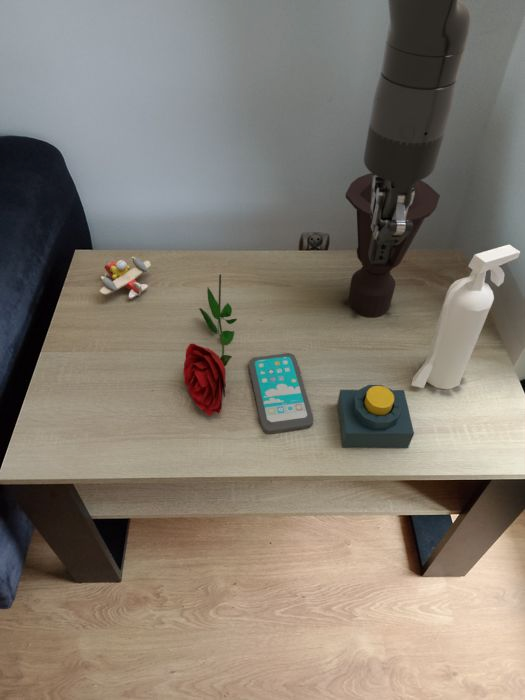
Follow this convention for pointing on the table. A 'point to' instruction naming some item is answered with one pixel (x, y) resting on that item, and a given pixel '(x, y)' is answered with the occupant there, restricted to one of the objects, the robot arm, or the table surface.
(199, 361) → the flower
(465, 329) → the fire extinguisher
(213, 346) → the table surface
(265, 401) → the smartphone
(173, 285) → the table surface
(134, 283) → the toy airplane
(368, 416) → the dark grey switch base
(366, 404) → the button
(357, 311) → the lantern
